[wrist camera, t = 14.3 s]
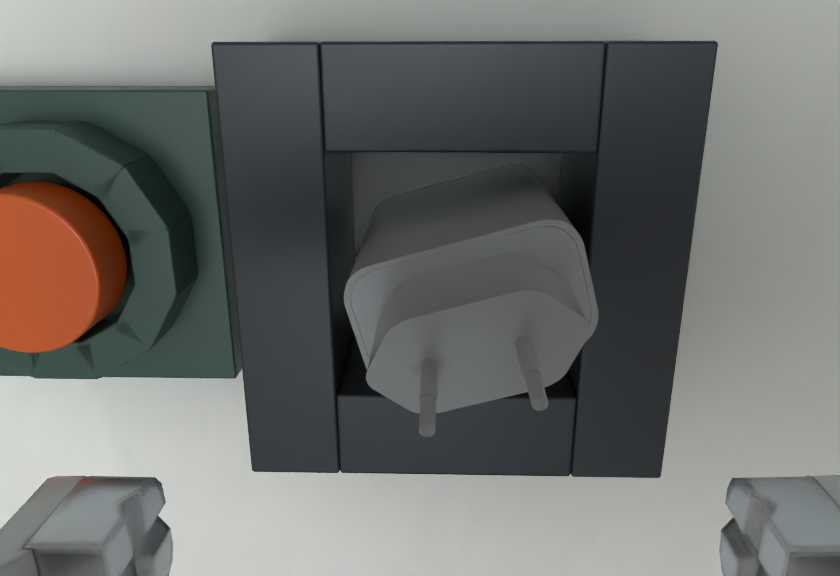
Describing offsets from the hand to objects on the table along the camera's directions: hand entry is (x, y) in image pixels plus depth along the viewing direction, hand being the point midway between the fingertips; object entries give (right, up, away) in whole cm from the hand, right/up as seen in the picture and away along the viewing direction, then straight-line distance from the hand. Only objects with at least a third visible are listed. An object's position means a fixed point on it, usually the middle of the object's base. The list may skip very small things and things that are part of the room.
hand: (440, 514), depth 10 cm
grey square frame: (+1, +5, +12) cm, 13 cm away
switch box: (-11, +5, +13) cm, 17 cm away
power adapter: (+1, +5, +12) cm, 14 cm away
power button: (-11, +4, +10) cm, 15 cm away
